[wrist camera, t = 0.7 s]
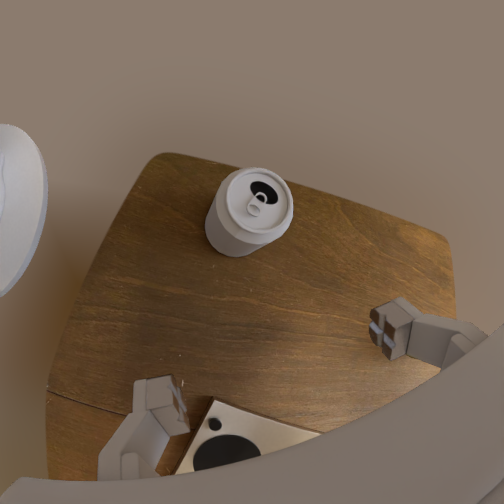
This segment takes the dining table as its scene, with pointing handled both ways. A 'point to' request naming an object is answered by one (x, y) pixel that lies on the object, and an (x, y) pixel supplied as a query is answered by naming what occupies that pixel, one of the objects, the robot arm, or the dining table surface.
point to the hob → (236, 437)
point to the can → (248, 212)
